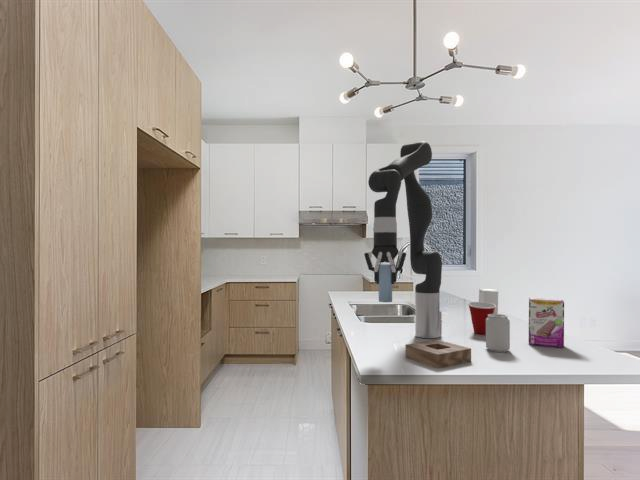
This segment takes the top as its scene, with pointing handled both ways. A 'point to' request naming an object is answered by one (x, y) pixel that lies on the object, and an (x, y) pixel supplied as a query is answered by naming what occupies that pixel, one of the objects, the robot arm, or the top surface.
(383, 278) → the peg
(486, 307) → the plastic cup
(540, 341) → the candy bar box
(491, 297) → the skincare box
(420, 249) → the robot arm
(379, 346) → the top surface
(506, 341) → the can
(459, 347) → the socket block
